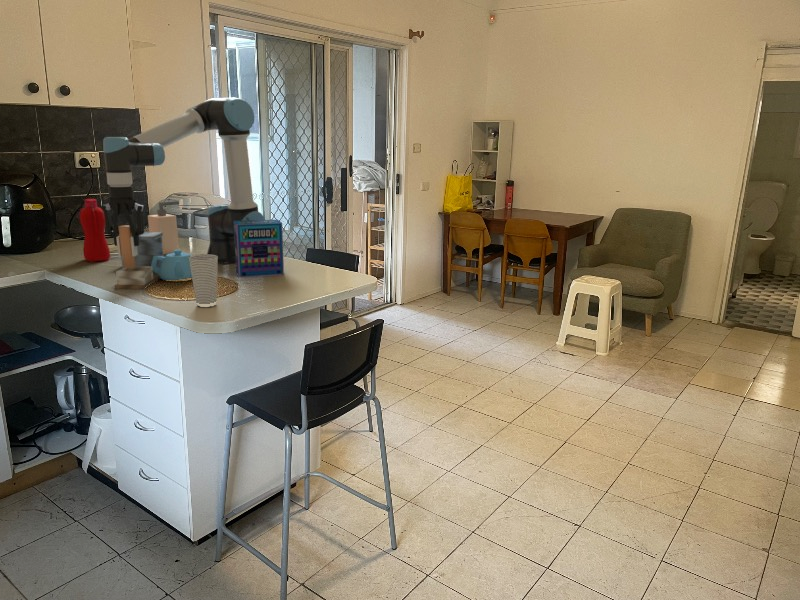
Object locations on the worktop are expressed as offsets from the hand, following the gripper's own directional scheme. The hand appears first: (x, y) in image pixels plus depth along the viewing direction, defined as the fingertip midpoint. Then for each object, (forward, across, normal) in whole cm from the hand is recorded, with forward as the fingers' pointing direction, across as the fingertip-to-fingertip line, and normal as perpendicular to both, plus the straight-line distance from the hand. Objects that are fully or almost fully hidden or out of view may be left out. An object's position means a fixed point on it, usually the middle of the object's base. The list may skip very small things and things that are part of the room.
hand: (128, 255), depth 202 cm
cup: (+12, -31, +20) cm, 39 cm away
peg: (+4, 0, 0) cm, 4 cm away
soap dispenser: (+12, +9, -64) cm, 66 cm away
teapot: (+12, -12, -14) cm, 22 cm away
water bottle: (+12, +31, -43) cm, 55 cm away
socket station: (+11, 0, -8) cm, 14 cm away
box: (+12, -39, -24) cm, 47 cm away
